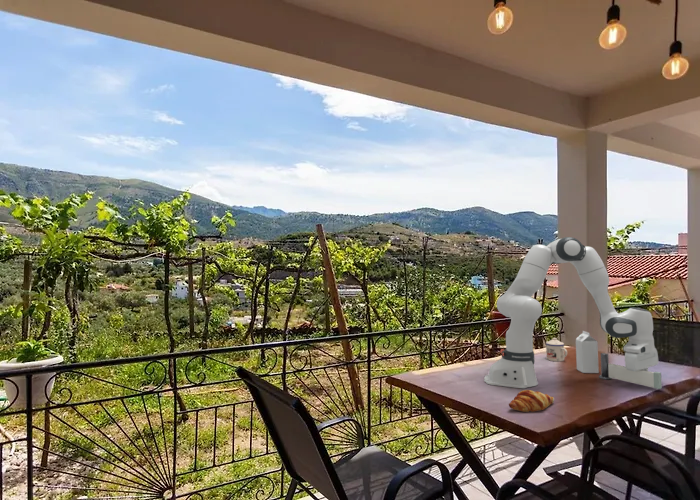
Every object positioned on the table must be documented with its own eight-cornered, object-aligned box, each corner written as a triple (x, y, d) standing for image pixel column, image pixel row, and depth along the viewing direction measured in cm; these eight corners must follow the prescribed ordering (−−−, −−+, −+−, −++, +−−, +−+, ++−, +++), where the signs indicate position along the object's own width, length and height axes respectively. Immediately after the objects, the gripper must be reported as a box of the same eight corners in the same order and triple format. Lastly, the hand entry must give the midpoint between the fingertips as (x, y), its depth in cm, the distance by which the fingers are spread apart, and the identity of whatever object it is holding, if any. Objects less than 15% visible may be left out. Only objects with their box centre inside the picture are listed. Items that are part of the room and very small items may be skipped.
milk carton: (591, 369, 206) (590, 330, 206) (598, 373, 199) (597, 333, 199) (576, 369, 207) (575, 330, 207) (583, 373, 200) (581, 333, 200)
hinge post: (600, 379, 189) (599, 354, 189) (597, 376, 194) (596, 352, 194) (613, 380, 188) (612, 355, 188) (610, 377, 192) (609, 352, 193)
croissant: (547, 410, 162) (538, 389, 166) (566, 404, 154) (557, 382, 158) (505, 418, 154) (497, 396, 157) (523, 413, 146) (515, 389, 149)
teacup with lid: (542, 358, 230) (541, 337, 230) (554, 357, 233) (554, 336, 233) (560, 363, 219) (559, 341, 219) (573, 361, 222) (572, 339, 222)
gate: (608, 377, 189) (607, 363, 189) (611, 376, 189) (610, 362, 190) (659, 389, 170) (658, 373, 171) (661, 388, 171) (661, 372, 172)
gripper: (645, 341, 188) (647, 372, 187) (621, 347, 177) (622, 380, 177) (661, 343, 182) (663, 376, 182) (637, 350, 172) (639, 384, 172)
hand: (643, 378), depth 179 cm, fingers closed
